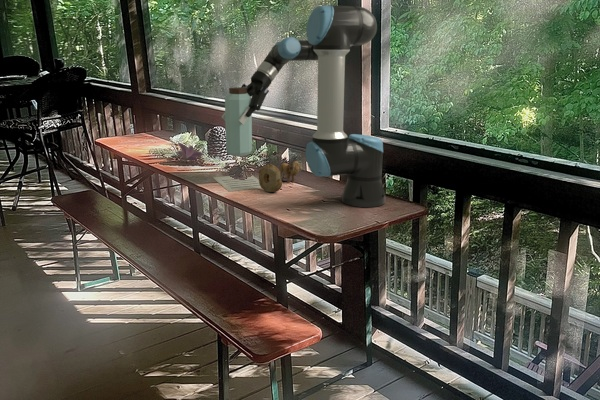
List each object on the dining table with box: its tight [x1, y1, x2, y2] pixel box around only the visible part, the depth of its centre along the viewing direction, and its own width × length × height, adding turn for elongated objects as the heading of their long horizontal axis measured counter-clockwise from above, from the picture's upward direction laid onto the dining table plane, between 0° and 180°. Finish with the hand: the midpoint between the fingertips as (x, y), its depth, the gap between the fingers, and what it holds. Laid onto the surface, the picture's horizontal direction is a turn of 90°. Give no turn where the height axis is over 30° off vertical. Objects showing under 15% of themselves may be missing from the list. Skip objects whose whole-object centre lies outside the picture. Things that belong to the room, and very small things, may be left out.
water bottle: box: [224, 86, 253, 157], centre depth 219 cm, size 10×10×25 cm
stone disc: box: [258, 164, 283, 193], centre depth 211 cm, size 10×4×10 cm, turn 46°
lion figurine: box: [279, 160, 303, 184], centre depth 227 cm, size 15×5×9 cm, turn 37°
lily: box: [175, 142, 205, 167], centre depth 254 cm, size 12×12×10 cm
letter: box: [212, 174, 262, 192], centre depth 225 cm, size 22×16×1 cm
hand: (232, 121), depth 217 cm, fingers closed on water bottle, 10 cm apart
